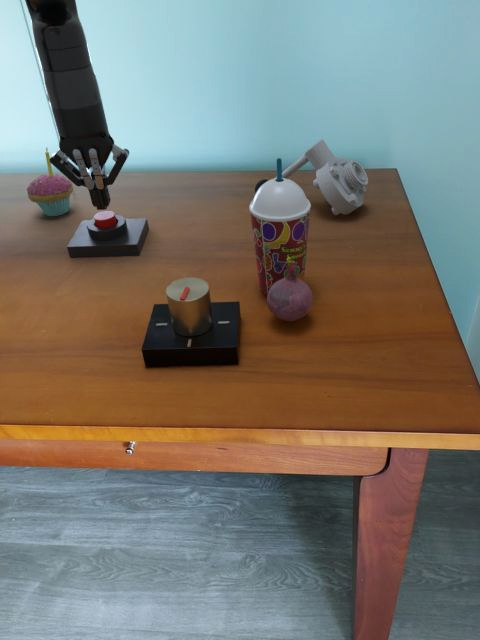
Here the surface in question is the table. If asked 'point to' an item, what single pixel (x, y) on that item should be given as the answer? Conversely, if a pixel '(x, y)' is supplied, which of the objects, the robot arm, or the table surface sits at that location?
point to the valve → (332, 178)
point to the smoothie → (279, 229)
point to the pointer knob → (190, 306)
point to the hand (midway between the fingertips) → (102, 207)
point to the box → (109, 239)
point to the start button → (105, 219)
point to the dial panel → (193, 339)
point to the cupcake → (51, 192)
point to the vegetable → (290, 296)
